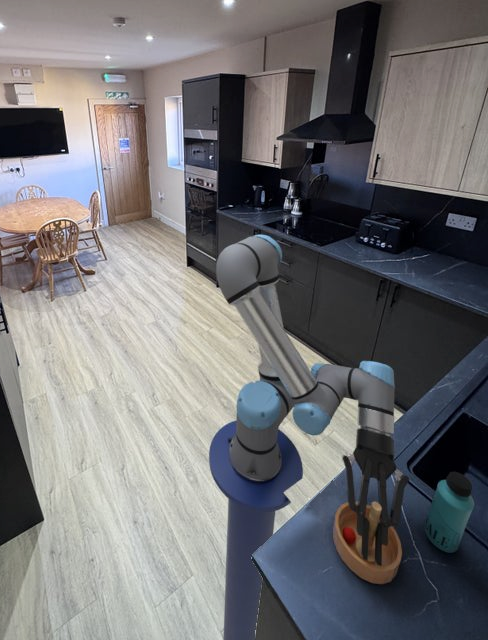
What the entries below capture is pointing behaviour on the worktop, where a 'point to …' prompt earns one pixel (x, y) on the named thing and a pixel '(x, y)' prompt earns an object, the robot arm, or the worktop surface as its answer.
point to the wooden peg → (370, 533)
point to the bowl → (389, 552)
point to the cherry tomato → (349, 535)
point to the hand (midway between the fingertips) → (371, 559)
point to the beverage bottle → (449, 512)
